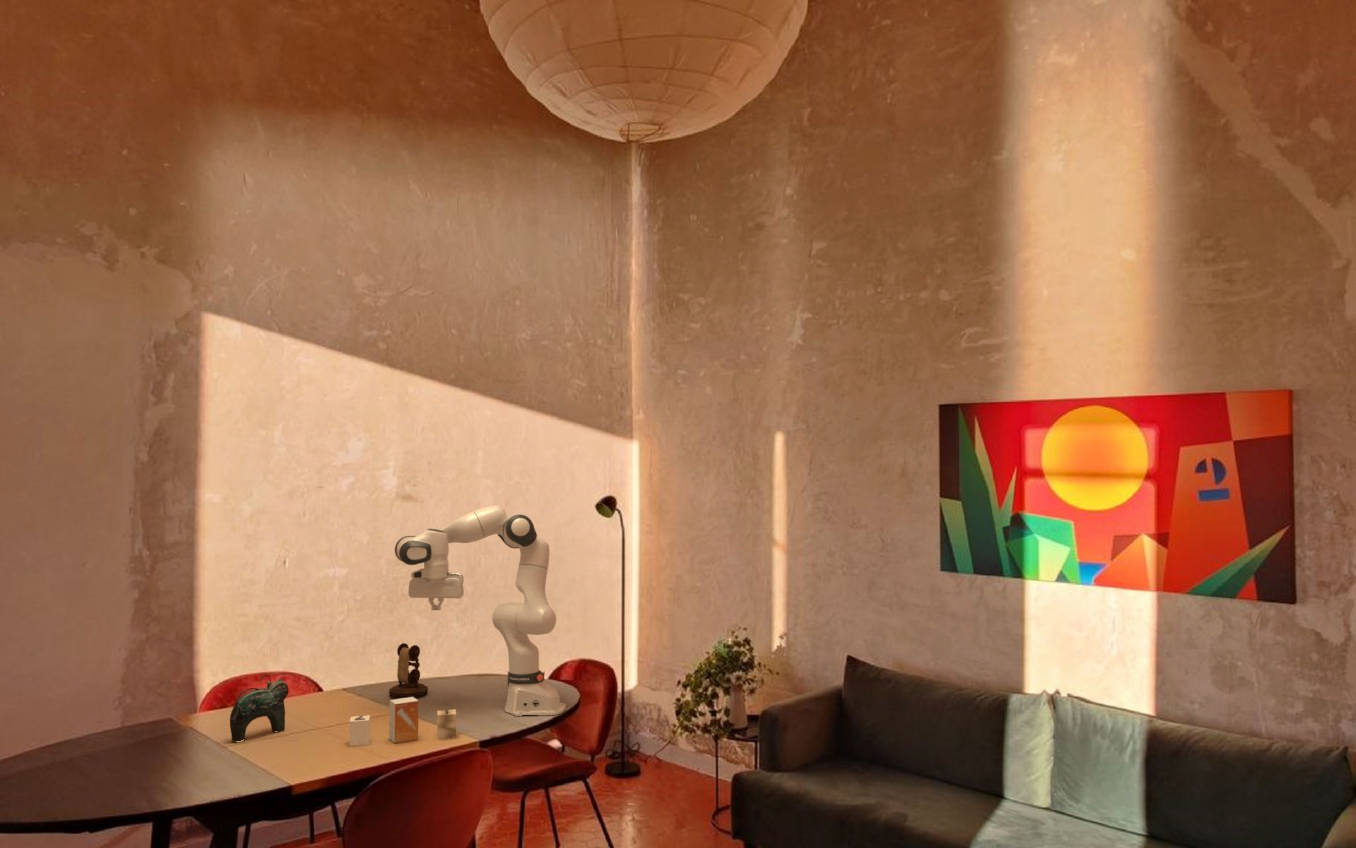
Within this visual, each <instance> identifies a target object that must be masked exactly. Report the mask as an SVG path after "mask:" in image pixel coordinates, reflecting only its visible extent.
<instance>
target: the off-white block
mask: <svg viewBox="0 0 1356 848" xmlns="http://www.w3.org/2000/svg"><path fill="white" fill-rule="evenodd" d="M370 716H371V715H369V714H367V715H358V716H355V715H354V716H350V719H349V747H355V746H369V745H370V741H371V737H370V735H371V734H370V731H371V725H370V724H371V723H370V722H371V719H370V718H371V717H370Z"/></svg>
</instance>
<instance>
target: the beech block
mask: <svg viewBox="0 0 1356 848" xmlns="http://www.w3.org/2000/svg"><path fill="white" fill-rule="evenodd" d="M436 711H437V712H436V714H437V715H436V716H437V717H436V720H437V721H436V725H437V726H436V727H437V728H436V729H437V730H436V731H437V732H436V733H437V740H447V739H448V738H450V739H454V738H453V737H456V738H457V710H456V709H455V708H454V709H444V710H436Z"/></svg>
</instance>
